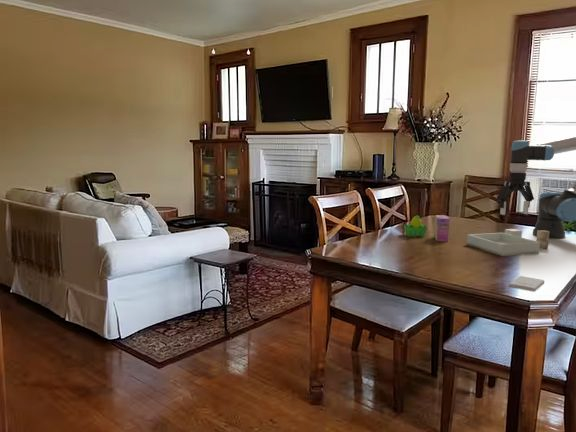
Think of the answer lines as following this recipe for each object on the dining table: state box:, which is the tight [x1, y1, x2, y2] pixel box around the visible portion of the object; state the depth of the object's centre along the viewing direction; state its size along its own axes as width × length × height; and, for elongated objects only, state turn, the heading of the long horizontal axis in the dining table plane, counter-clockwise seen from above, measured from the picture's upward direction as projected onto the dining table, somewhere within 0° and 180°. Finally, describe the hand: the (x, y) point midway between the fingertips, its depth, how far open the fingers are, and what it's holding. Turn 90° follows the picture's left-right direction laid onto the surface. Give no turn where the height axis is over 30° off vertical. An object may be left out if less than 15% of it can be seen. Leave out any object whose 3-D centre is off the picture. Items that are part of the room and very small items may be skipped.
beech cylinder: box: [535, 230, 550, 250], centre depth 217 cm, size 5×5×8 cm
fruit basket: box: [403, 215, 428, 238], centre depth 245 cm, size 11×9×11 cm
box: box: [434, 214, 450, 243], centre depth 236 cm, size 10×6×12 cm, turn 168°
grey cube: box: [504, 228, 523, 238], centre depth 235 cm, size 6×6×6 cm
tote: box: [466, 232, 540, 257], centre depth 215 cm, size 20×24×5 cm
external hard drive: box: [508, 275, 545, 292], centre depth 161 cm, size 2×8×12 cm
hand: (514, 214), depth 233 cm, fingers open, 13 cm apart
